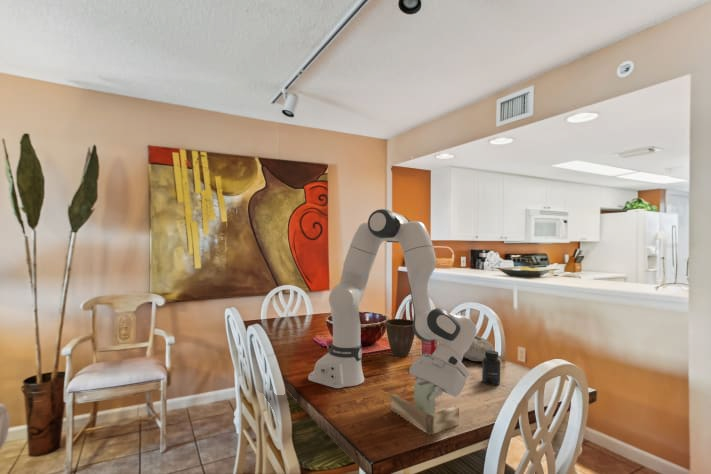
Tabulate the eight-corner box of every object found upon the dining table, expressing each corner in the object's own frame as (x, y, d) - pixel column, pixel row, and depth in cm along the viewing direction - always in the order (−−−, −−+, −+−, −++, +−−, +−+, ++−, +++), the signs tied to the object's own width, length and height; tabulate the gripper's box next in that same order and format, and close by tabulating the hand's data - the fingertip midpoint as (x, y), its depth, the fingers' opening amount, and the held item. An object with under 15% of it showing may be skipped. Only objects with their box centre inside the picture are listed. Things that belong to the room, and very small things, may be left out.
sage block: (424, 407, 120) (424, 378, 120) (434, 412, 116) (434, 383, 116) (414, 410, 118) (414, 381, 118) (423, 416, 114) (423, 386, 114)
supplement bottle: (491, 387, 141) (491, 355, 141) (478, 380, 147) (478, 350, 147) (504, 383, 144) (504, 353, 144) (490, 377, 150) (490, 348, 150)
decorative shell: (502, 360, 172) (502, 339, 172) (478, 368, 162) (478, 345, 162) (470, 350, 186) (470, 331, 186) (446, 357, 176) (446, 336, 176)
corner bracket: (419, 401, 128) (419, 387, 128) (459, 424, 112) (459, 407, 112) (391, 410, 121) (391, 395, 121) (429, 435, 106) (429, 417, 106)
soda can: (437, 365, 164) (438, 336, 164) (421, 364, 165) (421, 335, 165) (437, 360, 171) (437, 332, 171) (421, 359, 172) (421, 331, 172)
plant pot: (416, 351, 185) (416, 319, 185) (416, 361, 170) (416, 326, 170) (386, 349, 187) (386, 318, 187) (383, 359, 173) (383, 324, 173)
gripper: (418, 346, 129) (396, 380, 124) (464, 363, 112) (440, 403, 107) (428, 357, 132) (406, 390, 127) (474, 375, 114) (451, 415, 109)
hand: (422, 396), depth 117 cm, fingers closed on sage block, 4 cm apart
